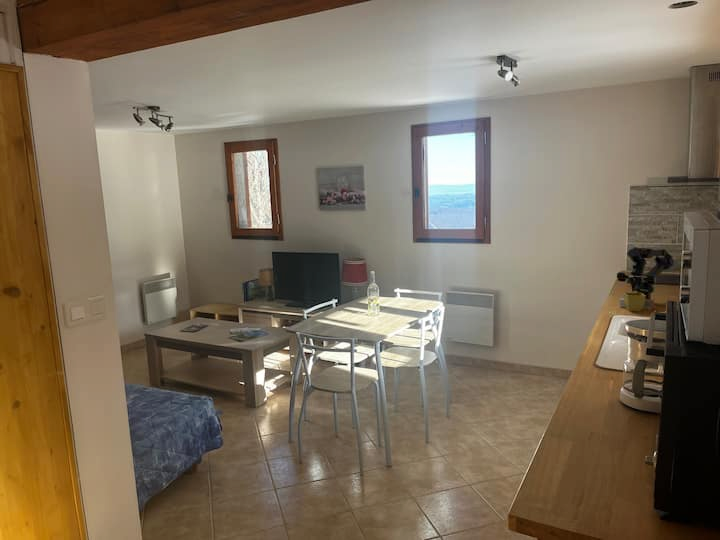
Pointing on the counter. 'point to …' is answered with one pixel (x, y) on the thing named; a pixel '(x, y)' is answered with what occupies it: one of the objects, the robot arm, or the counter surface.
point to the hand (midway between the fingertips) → (632, 291)
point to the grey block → (622, 303)
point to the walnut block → (648, 304)
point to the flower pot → (634, 301)
